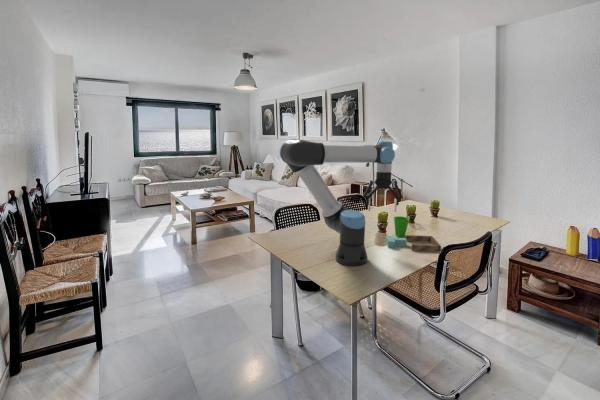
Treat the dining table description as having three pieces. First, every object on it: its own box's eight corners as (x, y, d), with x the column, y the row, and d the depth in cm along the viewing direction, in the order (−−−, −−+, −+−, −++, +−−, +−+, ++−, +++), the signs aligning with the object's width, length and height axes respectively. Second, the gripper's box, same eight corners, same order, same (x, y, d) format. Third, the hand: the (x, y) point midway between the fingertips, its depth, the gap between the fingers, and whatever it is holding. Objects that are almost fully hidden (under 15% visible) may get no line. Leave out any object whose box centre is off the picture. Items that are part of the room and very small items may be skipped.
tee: (388, 247, 173) (388, 241, 173) (385, 241, 183) (385, 235, 182) (407, 248, 172) (407, 242, 171) (403, 242, 182) (404, 236, 181)
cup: (409, 235, 194) (410, 217, 191) (406, 239, 186) (407, 220, 184) (394, 233, 198) (395, 215, 196) (390, 237, 190) (391, 218, 188)
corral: (411, 250, 169) (412, 245, 168) (405, 240, 185) (405, 235, 184) (440, 251, 167) (440, 246, 166) (431, 241, 183) (432, 235, 182)
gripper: (360, 171, 167) (358, 212, 171) (410, 172, 165) (407, 213, 169) (359, 170, 174) (357, 208, 179) (406, 170, 172) (404, 209, 176)
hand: (381, 211), depth 174 cm, fingers open, 13 cm apart
